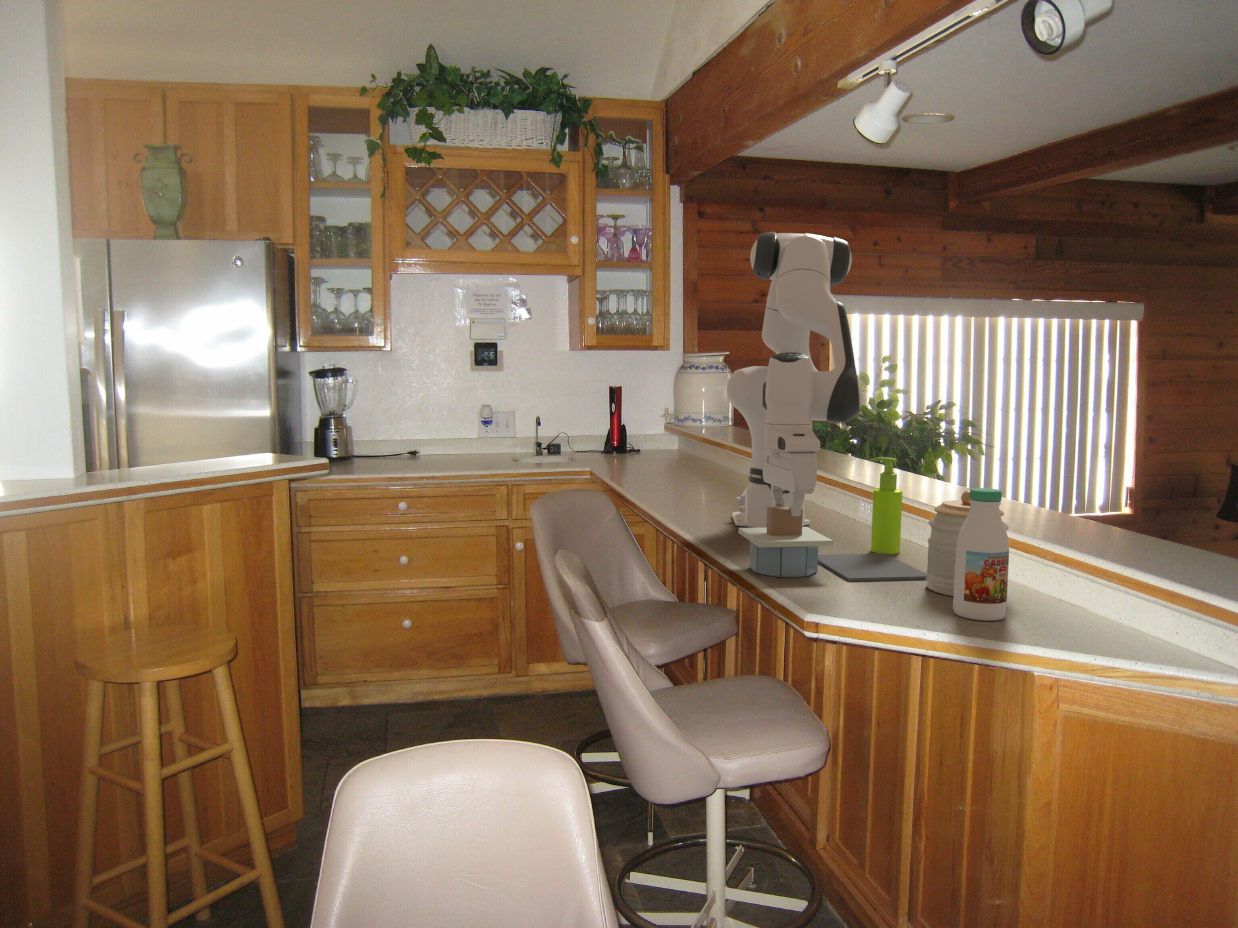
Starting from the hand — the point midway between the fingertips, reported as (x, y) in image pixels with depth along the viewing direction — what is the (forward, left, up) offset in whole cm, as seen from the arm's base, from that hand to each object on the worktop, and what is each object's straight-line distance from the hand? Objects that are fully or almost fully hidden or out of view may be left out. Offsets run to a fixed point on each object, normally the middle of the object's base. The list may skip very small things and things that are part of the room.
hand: (786, 511), depth 165 cm
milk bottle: (+33, +21, -12) cm, 40 cm away
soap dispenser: (-15, +27, -12) cm, 33 cm away
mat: (0, +17, -11) cm, 20 cm away
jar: (+18, +27, -12) cm, 34 cm away
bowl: (0, 0, -11) cm, 11 cm away
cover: (0, 0, -5) cm, 5 cm away
